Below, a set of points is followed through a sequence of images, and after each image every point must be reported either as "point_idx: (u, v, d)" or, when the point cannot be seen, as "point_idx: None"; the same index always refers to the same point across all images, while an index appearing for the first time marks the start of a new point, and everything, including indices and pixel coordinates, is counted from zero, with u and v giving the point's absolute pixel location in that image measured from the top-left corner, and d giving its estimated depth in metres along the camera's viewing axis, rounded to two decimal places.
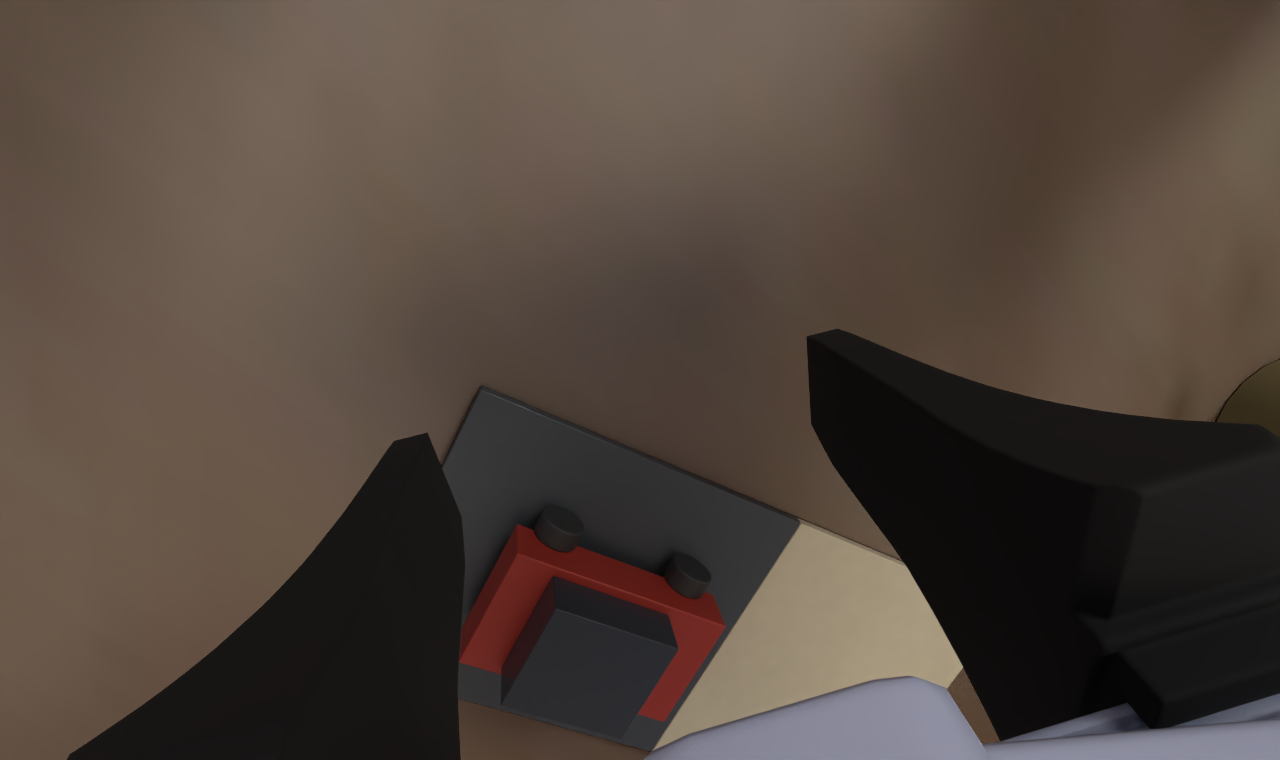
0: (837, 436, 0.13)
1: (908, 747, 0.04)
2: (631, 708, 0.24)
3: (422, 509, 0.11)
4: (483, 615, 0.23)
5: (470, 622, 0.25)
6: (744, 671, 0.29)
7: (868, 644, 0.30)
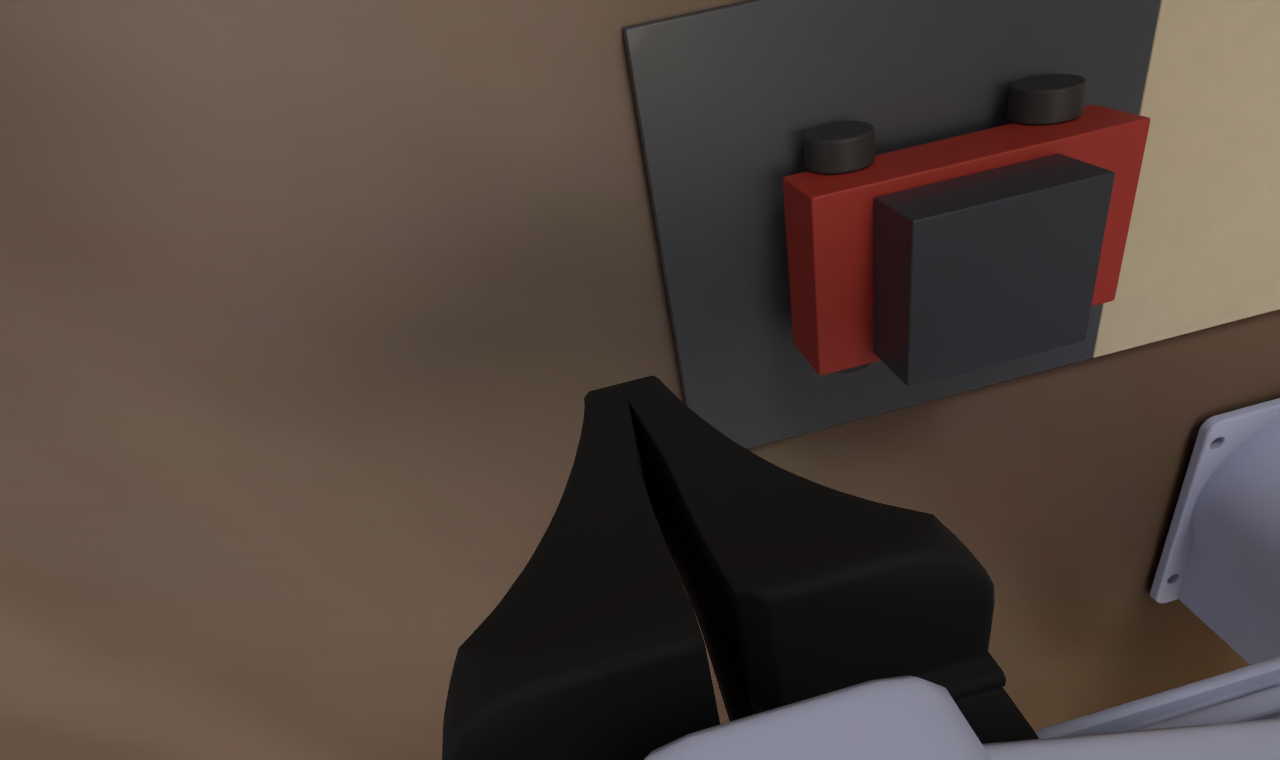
0: (649, 486, 0.13)
1: (908, 747, 0.04)
2: (1081, 294, 0.16)
3: (638, 452, 0.12)
4: (814, 304, 0.17)
5: (802, 328, 0.18)
6: (1175, 189, 0.20)
7: None
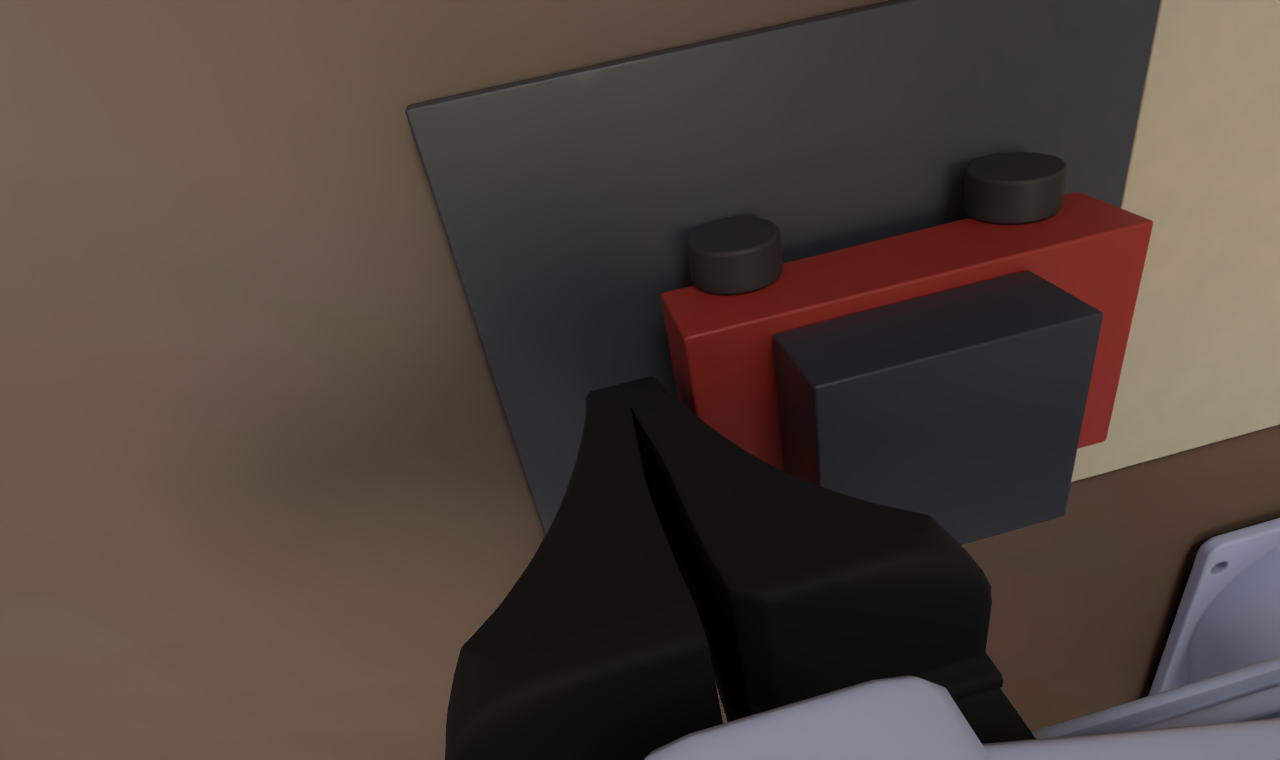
0: (647, 487, 0.13)
1: (908, 747, 0.04)
2: (1058, 462, 0.12)
3: (639, 452, 0.12)
4: None
5: None
6: (1169, 290, 0.16)
7: None
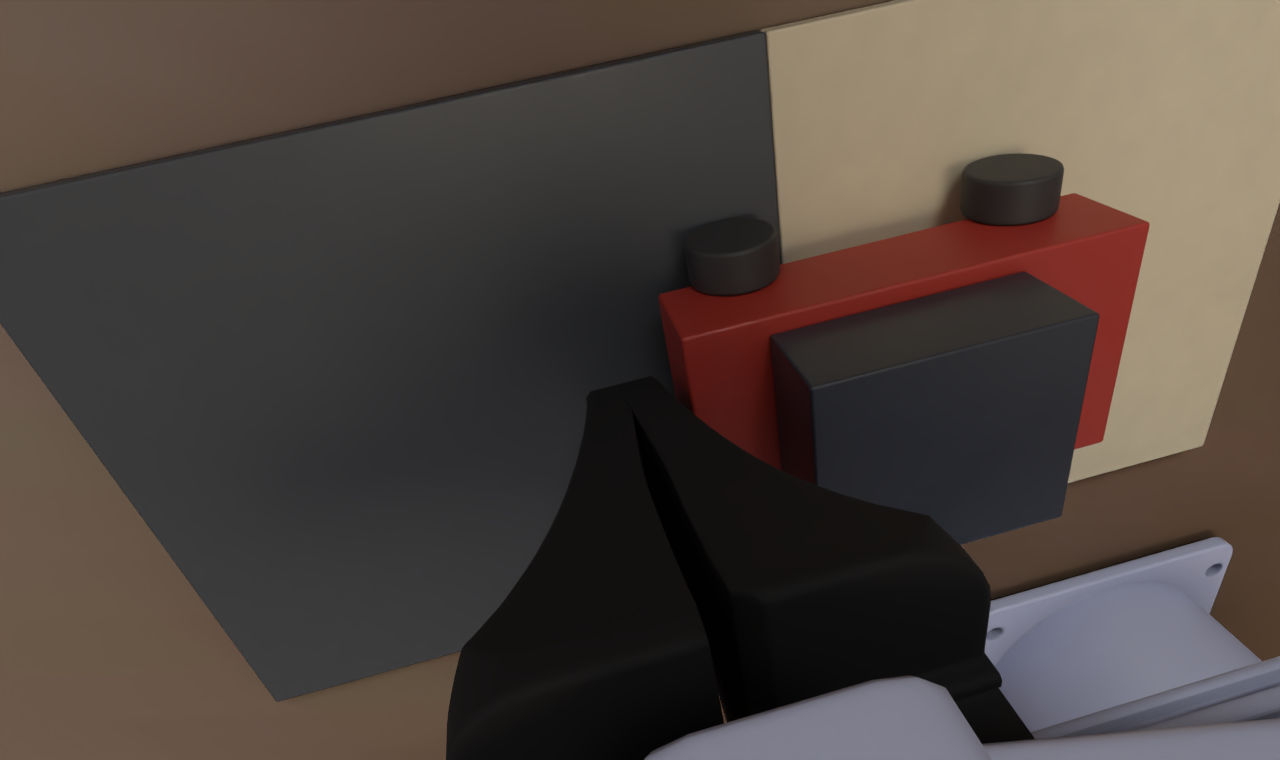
0: None
1: (908, 748, 0.04)
2: (1054, 463, 0.12)
3: (640, 452, 0.12)
4: None
5: None
6: None
7: (1073, 181, 0.14)
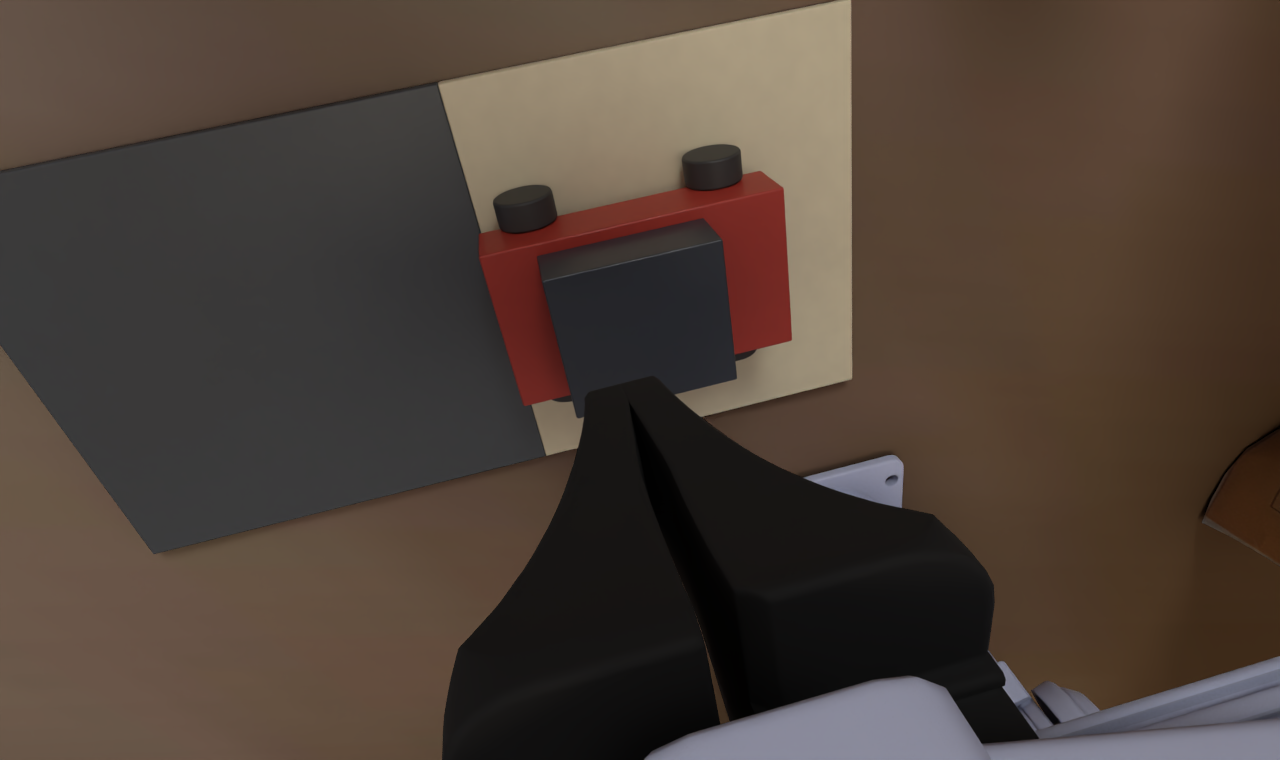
0: (648, 486, 0.13)
1: (908, 747, 0.04)
2: (720, 340, 0.18)
3: (638, 452, 0.12)
4: (505, 345, 0.19)
5: None
6: None
7: None
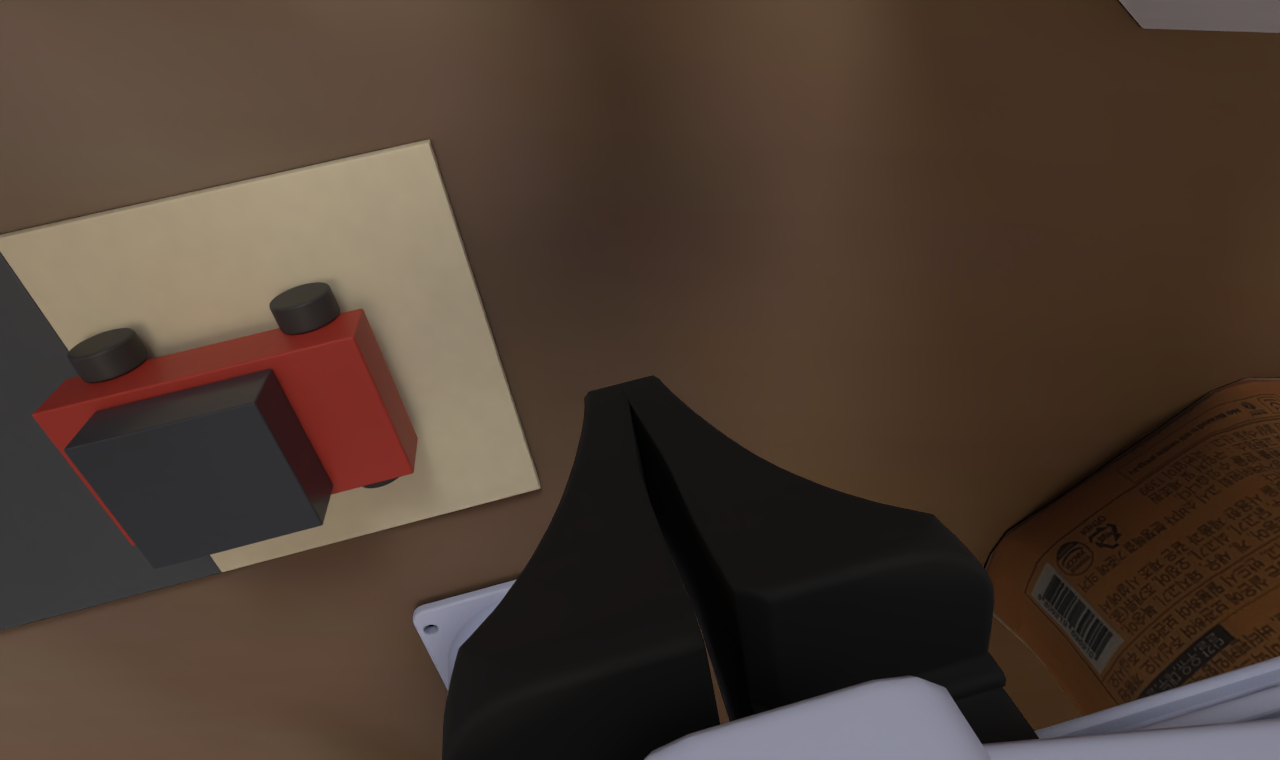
0: (648, 486, 0.13)
1: (908, 747, 0.04)
2: (288, 491, 0.18)
3: (638, 452, 0.12)
4: (92, 492, 0.19)
5: None
6: None
7: None
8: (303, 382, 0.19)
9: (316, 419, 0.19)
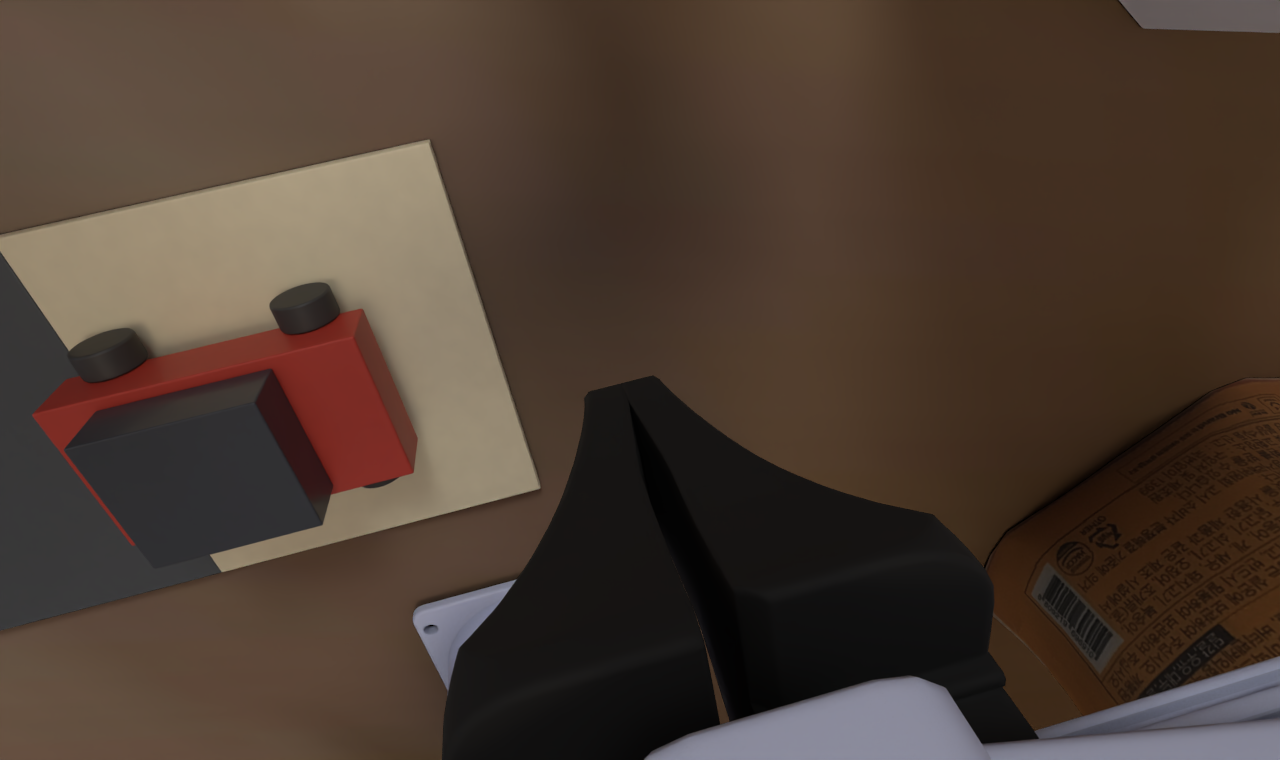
0: (648, 486, 0.13)
1: (908, 747, 0.04)
2: (288, 491, 0.18)
3: (638, 452, 0.12)
4: (92, 492, 0.19)
5: None
6: None
7: None
8: (303, 382, 0.19)
9: (316, 419, 0.19)
